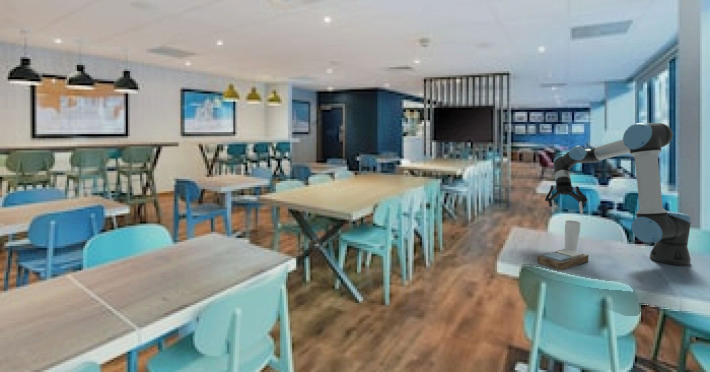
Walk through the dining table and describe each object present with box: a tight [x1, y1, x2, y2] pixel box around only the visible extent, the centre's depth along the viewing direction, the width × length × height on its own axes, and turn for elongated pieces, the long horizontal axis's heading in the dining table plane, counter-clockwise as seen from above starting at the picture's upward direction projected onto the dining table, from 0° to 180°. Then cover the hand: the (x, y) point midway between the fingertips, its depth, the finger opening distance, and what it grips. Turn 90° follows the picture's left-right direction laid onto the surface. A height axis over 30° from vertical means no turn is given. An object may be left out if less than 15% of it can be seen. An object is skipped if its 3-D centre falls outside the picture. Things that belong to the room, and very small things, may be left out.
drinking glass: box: [564, 219, 581, 252], centre depth 205 cm, size 7×7×15 cm
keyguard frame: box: [537, 248, 589, 271], centre depth 189 cm, size 12×22×3 cm, turn 122°
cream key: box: [556, 248, 584, 258], centre depth 191 cm, size 8×8×3 cm
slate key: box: [543, 251, 571, 262], centre depth 186 cm, size 8×8×3 cm
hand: (567, 212), depth 213 cm, fingers open, 13 cm apart
